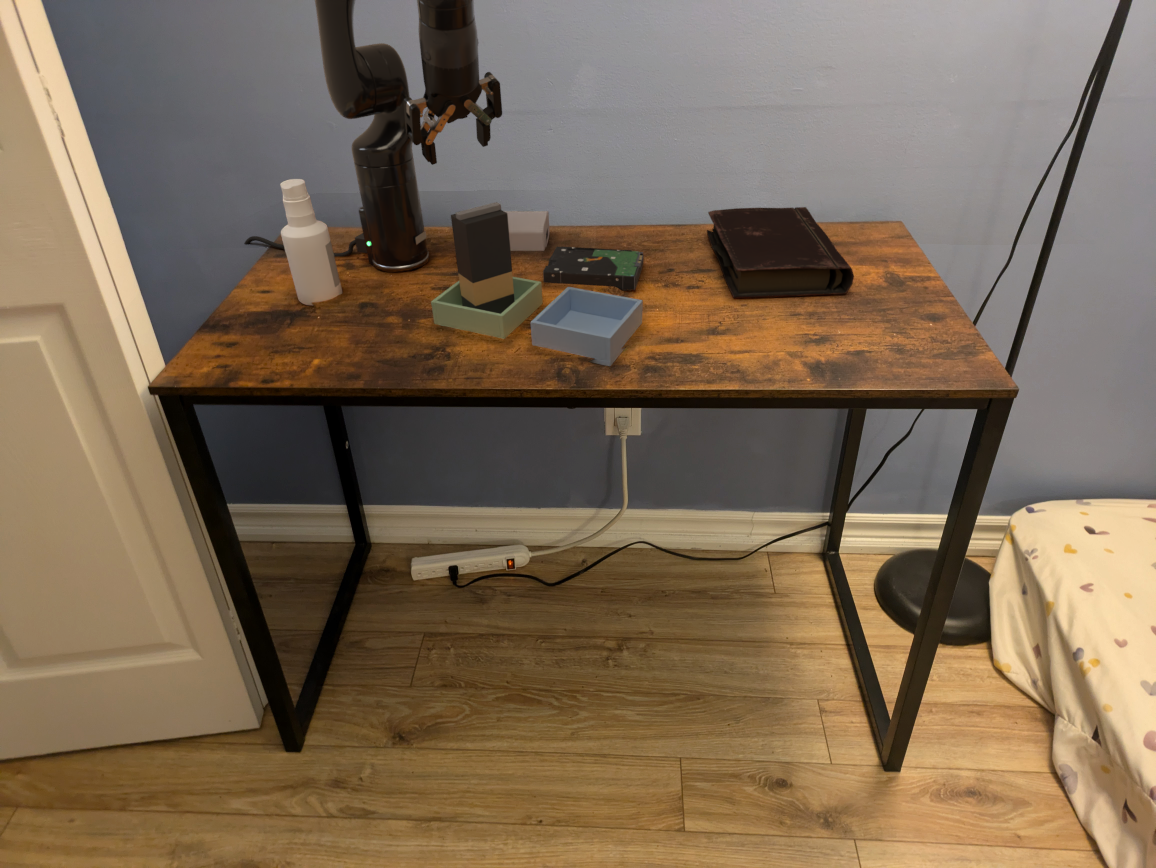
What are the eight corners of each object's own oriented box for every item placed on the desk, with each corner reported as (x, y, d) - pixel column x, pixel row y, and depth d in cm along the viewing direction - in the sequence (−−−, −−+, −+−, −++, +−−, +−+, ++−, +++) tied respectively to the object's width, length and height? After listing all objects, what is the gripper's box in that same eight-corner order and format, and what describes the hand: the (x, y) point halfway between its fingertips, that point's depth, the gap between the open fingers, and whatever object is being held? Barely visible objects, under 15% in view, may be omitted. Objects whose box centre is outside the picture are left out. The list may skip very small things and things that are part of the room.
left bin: (434, 328, 111) (430, 301, 108) (476, 294, 119) (473, 269, 117) (504, 343, 107) (502, 316, 104) (543, 307, 115) (541, 281, 113)
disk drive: (543, 288, 121) (636, 292, 118) (542, 271, 119) (636, 275, 117) (556, 261, 129) (643, 264, 127) (555, 245, 127) (644, 248, 125)
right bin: (532, 349, 105) (530, 321, 103) (568, 312, 114) (567, 286, 111) (610, 366, 101) (610, 338, 98) (642, 327, 109) (642, 300, 107)
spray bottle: (352, 291, 121) (326, 177, 111) (323, 309, 117) (294, 192, 106) (318, 284, 124) (290, 172, 113) (289, 302, 119) (257, 187, 108)
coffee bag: (515, 312, 112) (507, 207, 103) (477, 325, 110) (465, 218, 100) (500, 301, 115) (490, 198, 106) (463, 313, 113) (449, 209, 103)
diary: (806, 232, 136) (810, 204, 133) (850, 295, 116) (856, 264, 113) (701, 236, 136) (703, 208, 133) (727, 300, 116) (731, 269, 113)
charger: (468, 234, 139) (550, 234, 138) (458, 254, 132) (544, 255, 131) (465, 208, 137) (548, 208, 135) (455, 228, 129) (543, 228, 128)
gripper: (483, 20, 104) (486, 123, 118) (386, 48, 99) (402, 152, 113) (510, 50, 101) (511, 152, 115) (412, 79, 96) (425, 182, 110)
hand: (457, 152), depth 114 cm, fingers open, 8 cm apart
